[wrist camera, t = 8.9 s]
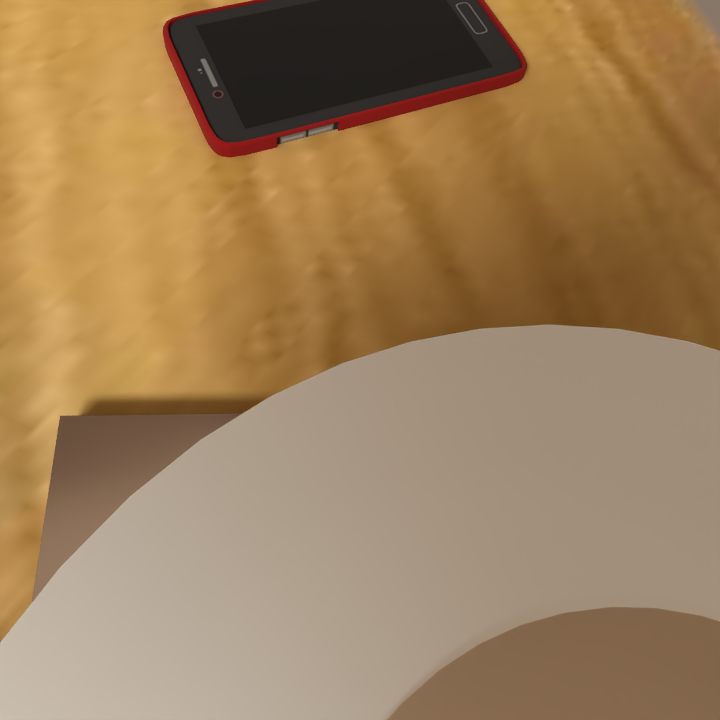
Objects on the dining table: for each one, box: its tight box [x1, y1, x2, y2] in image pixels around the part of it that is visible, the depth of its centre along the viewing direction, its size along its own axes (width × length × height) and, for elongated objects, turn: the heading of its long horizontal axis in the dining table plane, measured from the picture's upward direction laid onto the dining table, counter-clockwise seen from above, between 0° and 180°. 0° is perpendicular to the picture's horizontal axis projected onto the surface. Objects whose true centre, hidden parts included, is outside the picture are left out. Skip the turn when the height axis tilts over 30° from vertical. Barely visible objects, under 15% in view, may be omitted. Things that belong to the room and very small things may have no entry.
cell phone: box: [163, 0, 527, 157], centre depth 28 cm, size 8×15×1 cm, turn 114°
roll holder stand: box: [32, 413, 243, 602], centre depth 16 cm, size 16×16×4 cm
